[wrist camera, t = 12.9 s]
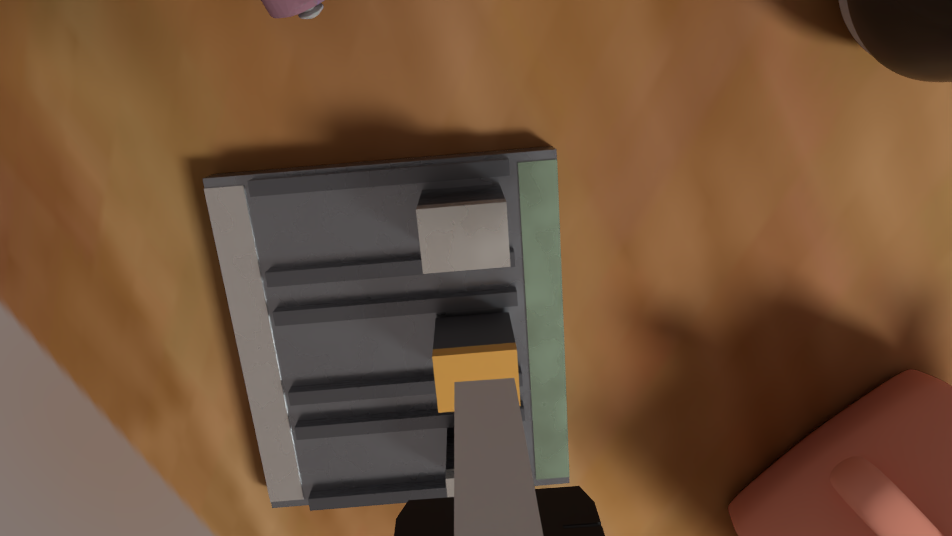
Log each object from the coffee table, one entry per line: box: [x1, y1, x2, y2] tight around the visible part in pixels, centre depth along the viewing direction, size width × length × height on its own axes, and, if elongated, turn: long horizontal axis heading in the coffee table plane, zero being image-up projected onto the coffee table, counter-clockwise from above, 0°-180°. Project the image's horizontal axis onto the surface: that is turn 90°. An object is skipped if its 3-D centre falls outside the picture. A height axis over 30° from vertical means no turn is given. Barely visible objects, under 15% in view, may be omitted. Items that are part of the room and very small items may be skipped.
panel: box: [203, 146, 569, 511], centre depth 33 cm, size 20×18×6 cm
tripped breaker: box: [432, 312, 521, 413], centre depth 32 cm, size 3×4×5 cm
